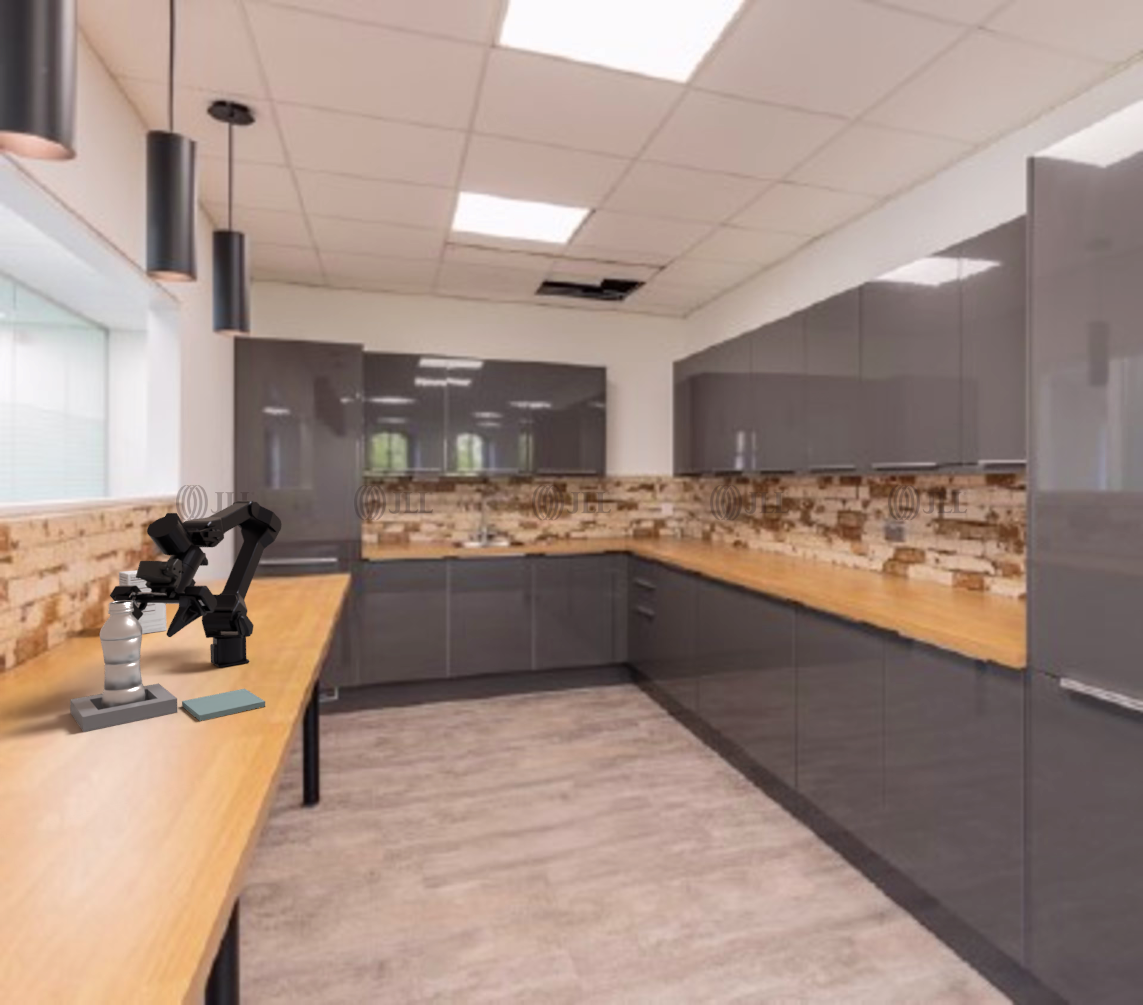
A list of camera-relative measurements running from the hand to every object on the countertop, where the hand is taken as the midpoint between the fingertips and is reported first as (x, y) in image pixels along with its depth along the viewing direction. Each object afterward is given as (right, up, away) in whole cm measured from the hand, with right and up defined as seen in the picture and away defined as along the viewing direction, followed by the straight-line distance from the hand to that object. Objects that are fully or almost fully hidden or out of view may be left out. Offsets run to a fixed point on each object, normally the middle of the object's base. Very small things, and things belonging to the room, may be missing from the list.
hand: (144, 635), depth 130 cm
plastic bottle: (0, -13, -6) cm, 14 cm away
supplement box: (-39, -11, +63) cm, 76 cm away
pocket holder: (0, -13, -6) cm, 14 cm away
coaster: (+16, -13, -2) cm, 21 cm away
